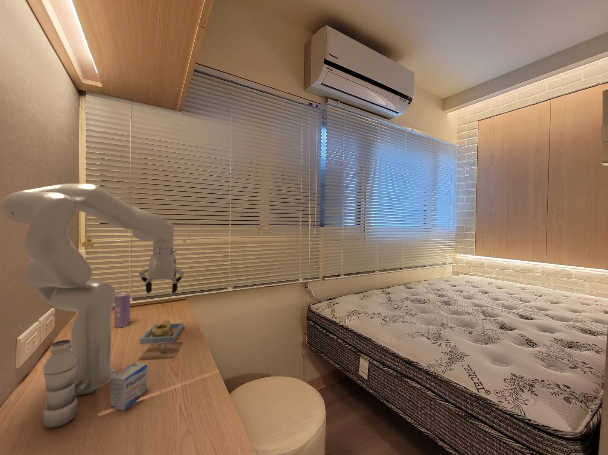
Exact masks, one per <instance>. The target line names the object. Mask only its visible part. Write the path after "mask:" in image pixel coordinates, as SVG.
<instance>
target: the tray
mask: <svg viewBox="0 0 608 455" xmlns="http://www.w3.org/2000/svg"><path fill="white" fill-rule="evenodd" d="M160 324H161V323H154V324H153V325H152V326H151V327H150V328H149V329H148V330H147V331H146V332H145V333H144V334H143V335H142V336H141V337H140V339H139V344H140V345H142V344H143V345H144V344H145V345H147V344H154V343H160V342H168V343H173V342H175V341H176V340H177V338H178V337H179V336H180V333H181V332H182V330H183V329H184V328H185V327H184V326H185V325H184V322H180V323H178V322H177V323H175V322H174V323H170V325H171V329H176V331H175V332H174V334H173V335H172V336H171V335H170V337H152V328H153V327H154V326H156V325H160ZM150 336H151V337H150Z"/></svg>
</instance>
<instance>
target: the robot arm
mask: <svg viewBox="0 0 608 455" xmlns="http://www.w3.org/2000/svg"><path fill="white" fill-rule="evenodd" d="M0 209H1V213H2V214H3V216H5V217H6V218H7V219H8V220H10V221H11V222H15V223H18V224H25V225H27V224H28V226H27V227H26V228H27V229H26V232H25V233H24V234H25V236H24V241H23V242H24V243H23V244H24V248H25V250H26V252H27V253H28V255H29V256H30V257H31V258H30V259H29V260H28V261H27V263H26V264H25V266H24V270H23V275H24V278H25V281H26V283H28V284H29V286H30V287H31V288H33V290H34V291H35V292H36V293H37V294H38V295H39V296H41V298H42V299H43V300H45V301H46V302H47V303H48V304H49V305H50V306H51V307H53V308H55V309H58V310H61V311H69V312H74V313H77V316H76V317H75V319H74V321H73V323H72V326H71V330H70V331H71V332H70V338H71V339H70V340H71V349H70V351H72V352H73V353H74V354H75V355H76V356H77V358H78V364H77V370H76V376H75V393H76V397H77V396H84V395H88V394H91V393H95V392H97V389H99V388H101V387H103V386H105V385H107V384H108V383H111V378H112V377H113V376H115V375H116V374H118V373H117V370H116V368H115V369H114V368H113V367H111V366H112V363H111V362H112V316H113V315H112V314H113V310H114V309H113V308H114V301H115V295H116V291H115V288H114V287H113V286H112V285H111V284H110V283H108V282H105V281H101V280H92V275H93V269H92V266H91V265H90V263H89V262H88V261H87V259H86V258H85V257H84V256H83V254H82V253H81V252H80V251H79V249H78V248H77V247H76V245H75V244H74V243H73V241H72V239H71V238H70V235H69V230H70V226H71V223H72V221H73V220H74V217H75V214H76V212H82V213H85V214H88V215H90V216H92V217H94V218H97V219H98V220H100V221H102V222H103V223H106V224H108V225H111V226H112V227H116V228H120V229H124V230H131V234H132V236H133V237H134V238H135V239H137V240H138V241H146V242H147V241H149V242H152V254H151V255H150V257H149V261H148V268H146V269H145V270H143V271H141V272H138V274H139V275H138V276H139V277H140V278H141V280H142V281H143V283H144V284H145V291H146V294H150V293H151V292H153V291H152V288H153V285H152V284H153V282H152V280H170V281H172V282H173V283H172V285H171V289H172V290H171V293H172V294H175V293H176V292H177V291H178V283H179V282H180V281H181V280H182V279H183V277H184V276H185V273H186V272H185V271H182V270H181V269H178V268H177V267H178V266H177V258H176V254H175V253H177V252H178V250H177V249H175V247H174V239H175V237H174V232H175V230H174V229H175V227H174V223H172V222H168V221H167V220H165V219H164V218H162V217H160V216H158V214H154V213H152V212H150V211H146V210H144V209H141V208H138V207H136V206H133V205H131V204H128V203H126V202H125V201H123V200H122V199H120V198H118V197H116V196H115V195H113V194H112V193H110V192H109V191H107V190H105V189H104V188H102V187H100V186H98V185H95V184H93V183H61V184H55V185H51V186H43V187H37V188H31V189H26V190H25V189H24V190H19V191H15V192H12V193H10V194H8V195H6V197H4V198H3V199H2V201H1V204H0ZM145 274H147V276H146V275H145ZM177 275H179V276H178V277H177Z"/></svg>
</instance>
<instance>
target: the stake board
mask: <svg viewBox="0 0 608 455" xmlns="http://www.w3.org/2000/svg"><path fill="white" fill-rule="evenodd" d="M183 344H184V341H178V342H175V341H174V342H160V343H150V345H149V346H148V347H147V349H146V350H145V351H144V352H143V353H142V354H141V356H140V357H139V358H138V360H137V361H154V360H169V359H175V358H176V356H177V355H178V352H179V350H180V349H181V348H182V346H183Z"/></svg>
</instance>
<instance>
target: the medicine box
mask: <svg viewBox="0 0 608 455" xmlns="http://www.w3.org/2000/svg"><path fill="white" fill-rule="evenodd" d="M147 390H148V364H147V363H143V362H134V363H133V364H131V365H129V366H128V367H126V368H124V369H123V370H121V371H120V372H118V373H117V374H116V375H115V376H113V377H112V378H111V381H110V406H112V407H110V408H111V409H114V410H120V411H126V410H127V409H128V408H130V407H131V406H132V405H133V404H134V403H136V402H137V401H138V400H139V399H141V395H143V393H144V392H146V391H147Z"/></svg>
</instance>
